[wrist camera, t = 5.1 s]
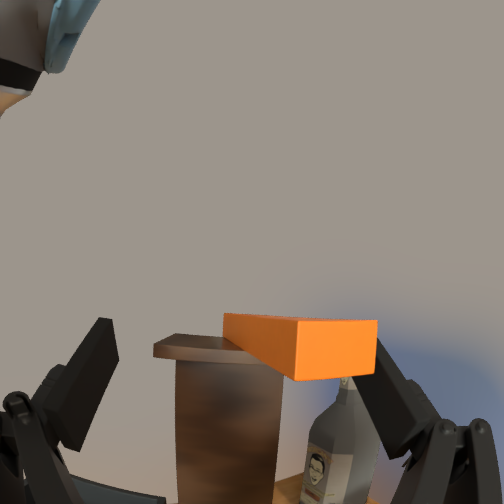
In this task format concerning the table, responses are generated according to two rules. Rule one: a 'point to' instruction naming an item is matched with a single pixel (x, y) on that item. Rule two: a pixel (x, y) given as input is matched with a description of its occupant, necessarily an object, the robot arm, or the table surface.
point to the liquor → (341, 451)
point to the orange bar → (306, 344)
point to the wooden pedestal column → (223, 421)
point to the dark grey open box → (103, 494)
